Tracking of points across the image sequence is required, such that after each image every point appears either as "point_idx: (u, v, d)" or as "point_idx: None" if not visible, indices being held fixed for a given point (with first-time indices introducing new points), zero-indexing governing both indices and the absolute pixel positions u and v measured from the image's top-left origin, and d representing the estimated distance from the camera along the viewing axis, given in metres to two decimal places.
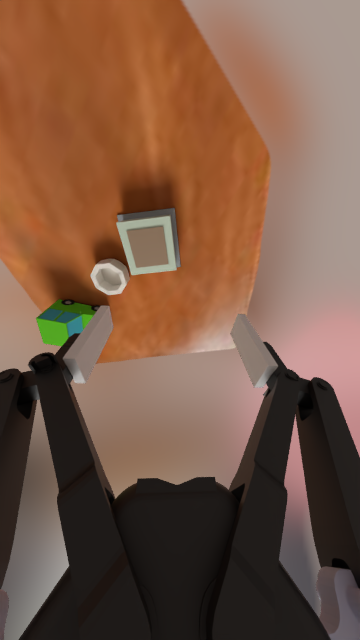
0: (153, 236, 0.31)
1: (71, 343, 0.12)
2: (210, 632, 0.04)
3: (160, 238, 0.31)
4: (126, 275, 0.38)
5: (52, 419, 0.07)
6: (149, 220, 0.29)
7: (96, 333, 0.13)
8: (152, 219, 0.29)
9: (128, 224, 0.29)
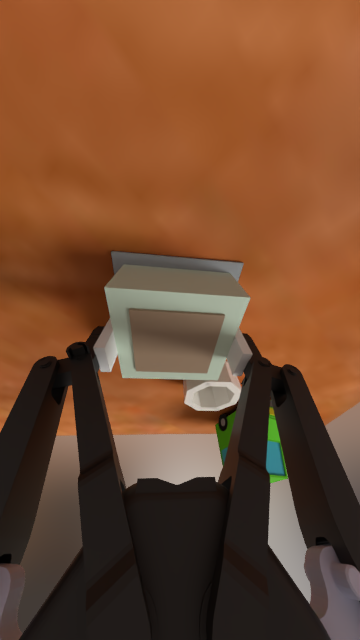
0: (150, 333, 0.13)
1: (96, 335, 0.13)
2: None
3: (156, 320, 0.12)
4: None
5: (80, 404, 0.08)
6: (117, 332, 0.13)
7: None
8: (114, 326, 0.12)
9: (125, 364, 0.15)
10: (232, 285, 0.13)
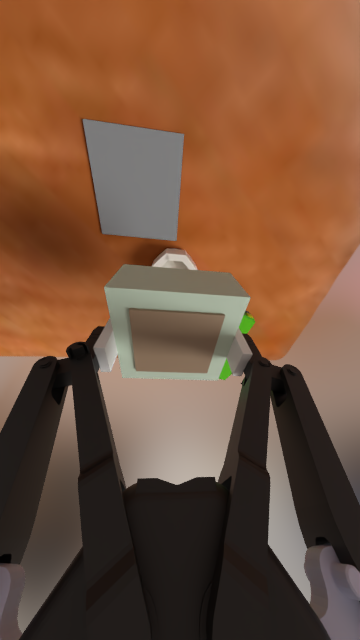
0: (150, 333, 0.13)
1: (96, 335, 0.13)
2: None
3: (156, 320, 0.12)
4: (176, 251, 0.26)
5: (80, 404, 0.08)
6: (117, 331, 0.13)
7: None
8: (114, 326, 0.12)
9: (125, 364, 0.15)
10: (232, 285, 0.13)
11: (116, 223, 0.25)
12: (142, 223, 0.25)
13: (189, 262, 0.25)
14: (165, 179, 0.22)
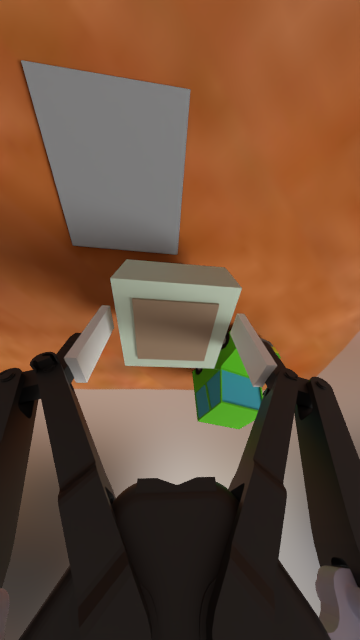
0: (151, 321, 0.14)
1: (72, 343, 0.12)
2: (210, 633, 0.04)
3: (156, 309, 0.13)
4: None
5: (53, 418, 0.07)
6: (121, 320, 0.14)
7: (97, 333, 0.13)
8: (118, 315, 0.13)
9: (128, 352, 0.16)
10: (226, 278, 0.14)
11: (92, 231, 0.17)
12: (129, 231, 0.17)
13: None
14: (160, 165, 0.14)
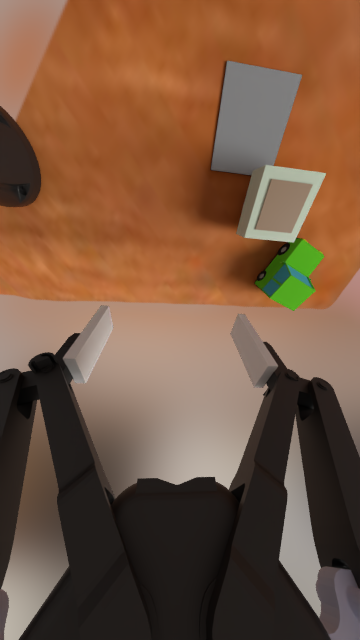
0: (274, 196, 0.26)
1: (71, 343, 0.12)
2: (210, 632, 0.04)
3: (281, 187, 0.26)
4: None
5: (52, 419, 0.07)
6: (258, 196, 0.26)
7: (96, 333, 0.13)
8: (259, 192, 0.26)
9: (251, 224, 0.29)
10: None
11: (225, 159, 0.30)
12: (246, 159, 0.30)
13: None
14: (276, 116, 0.27)
